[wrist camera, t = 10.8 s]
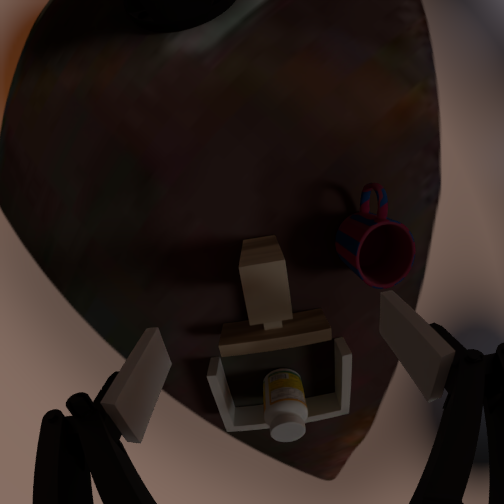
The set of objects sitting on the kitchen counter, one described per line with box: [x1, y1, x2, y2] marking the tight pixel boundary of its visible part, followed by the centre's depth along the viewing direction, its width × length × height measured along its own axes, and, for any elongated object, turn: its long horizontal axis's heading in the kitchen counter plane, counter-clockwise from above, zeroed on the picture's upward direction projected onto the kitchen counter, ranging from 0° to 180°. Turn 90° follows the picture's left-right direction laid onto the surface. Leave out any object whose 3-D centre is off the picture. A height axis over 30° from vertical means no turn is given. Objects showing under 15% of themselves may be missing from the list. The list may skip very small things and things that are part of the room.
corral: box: [207, 337, 352, 432], centre depth 33 cm, size 11×17×4 cm, turn 100°
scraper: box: [219, 235, 332, 357], centre depth 27 cm, size 11×12×10 cm
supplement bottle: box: [263, 368, 308, 442], centre depth 31 cm, size 5×5×10 cm
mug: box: [335, 183, 415, 289], centre depth 27 cm, size 7×10×7 cm
